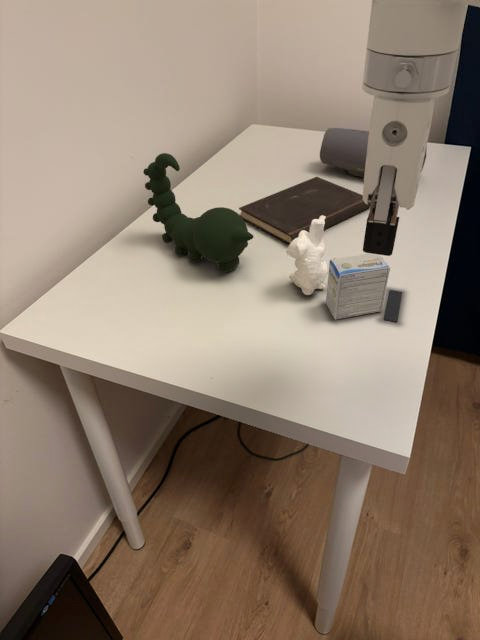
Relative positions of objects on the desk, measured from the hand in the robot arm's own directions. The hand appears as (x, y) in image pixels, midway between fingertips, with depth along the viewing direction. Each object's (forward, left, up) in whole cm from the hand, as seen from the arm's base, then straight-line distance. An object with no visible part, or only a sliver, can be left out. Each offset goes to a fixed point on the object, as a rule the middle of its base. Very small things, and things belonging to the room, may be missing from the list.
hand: (377, 250), depth 54 cm
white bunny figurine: (+11, -17, -19) cm, 28 cm away
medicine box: (+3, -14, -19) cm, 24 cm away
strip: (-3, -16, -19) cm, 25 cm away
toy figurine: (+32, -21, -19) cm, 43 cm away
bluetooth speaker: (+8, -66, -19) cm, 69 cm away
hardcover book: (+18, -43, -19) cm, 50 cm away
